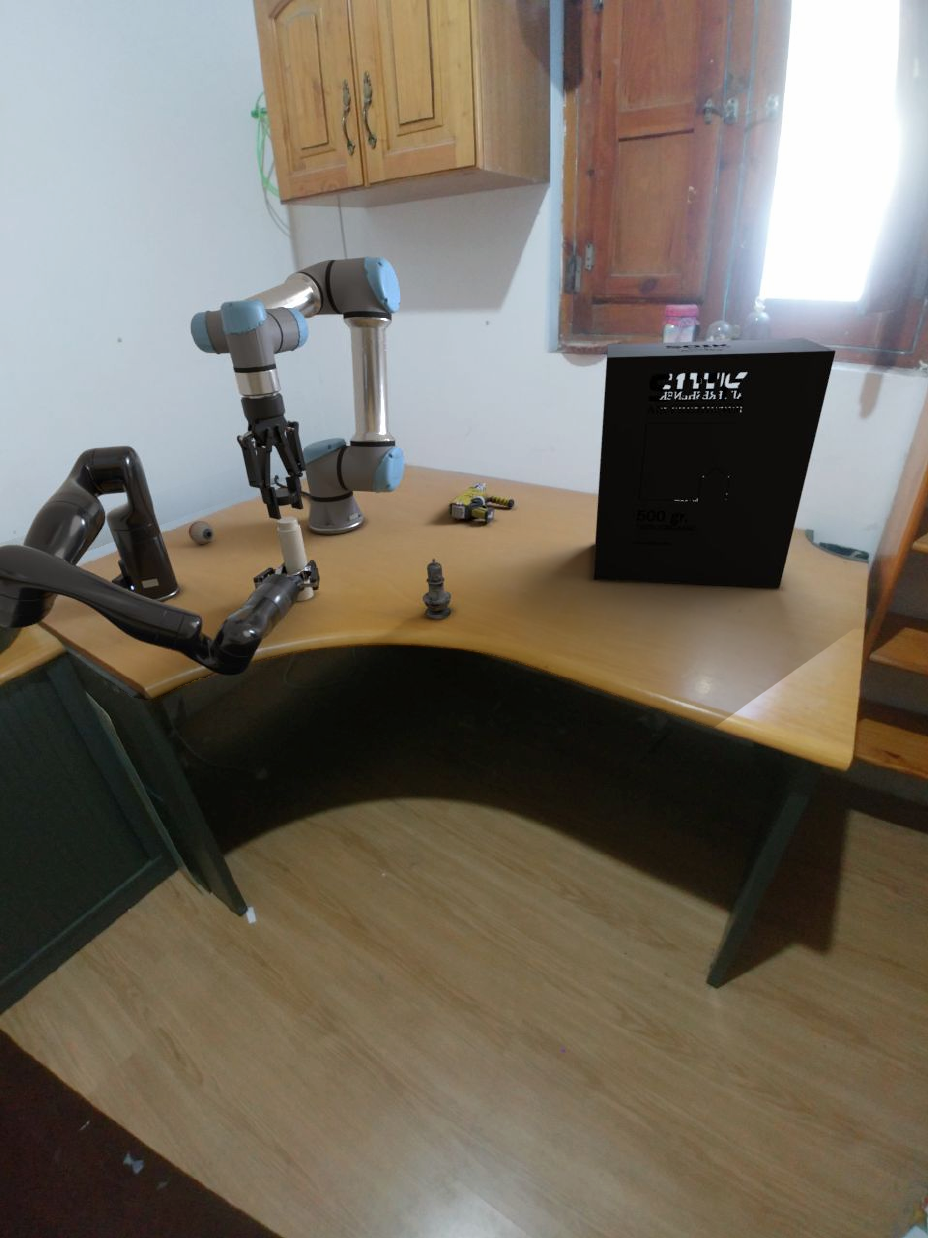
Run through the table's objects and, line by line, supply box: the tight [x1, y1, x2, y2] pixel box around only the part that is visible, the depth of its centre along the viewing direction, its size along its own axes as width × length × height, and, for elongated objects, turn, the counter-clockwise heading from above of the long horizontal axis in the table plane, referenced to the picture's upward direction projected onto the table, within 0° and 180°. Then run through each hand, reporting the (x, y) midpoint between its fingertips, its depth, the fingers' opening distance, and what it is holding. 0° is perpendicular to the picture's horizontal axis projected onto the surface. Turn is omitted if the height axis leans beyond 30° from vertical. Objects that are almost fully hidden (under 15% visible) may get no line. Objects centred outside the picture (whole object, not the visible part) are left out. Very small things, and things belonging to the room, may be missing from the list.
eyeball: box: [188, 520, 214, 545], centre depth 161 cm, size 6×6×6 cm
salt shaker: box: [422, 558, 453, 620], centre depth 120 cm, size 6×6×12 cm
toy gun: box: [448, 481, 515, 523], centre depth 173 cm, size 5×24×15 cm
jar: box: [276, 516, 315, 602], centre depth 128 cm, size 5×5×18 cm
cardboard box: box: [592, 337, 836, 589], centre depth 125 cm, size 38×20×45 cm, turn 78°
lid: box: [275, 488, 298, 507], centre depth 122 cm, size 6×6×2 cm
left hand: (301, 563), depth 132 cm, fingers closed on jar, 4 cm apart
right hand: (286, 512), depth 123 cm, fingers closed on lid, 5 cm apart
